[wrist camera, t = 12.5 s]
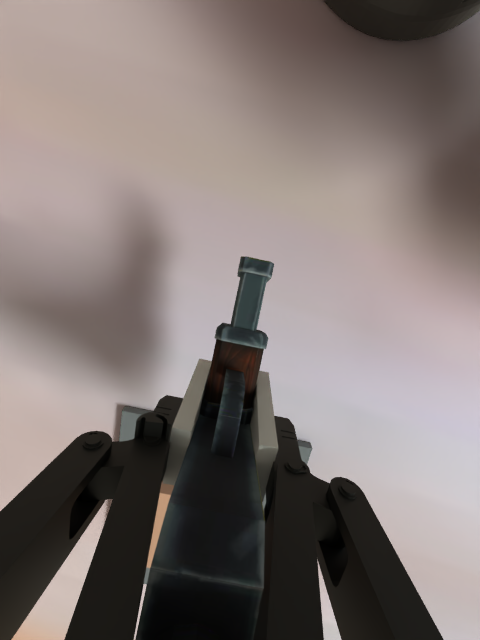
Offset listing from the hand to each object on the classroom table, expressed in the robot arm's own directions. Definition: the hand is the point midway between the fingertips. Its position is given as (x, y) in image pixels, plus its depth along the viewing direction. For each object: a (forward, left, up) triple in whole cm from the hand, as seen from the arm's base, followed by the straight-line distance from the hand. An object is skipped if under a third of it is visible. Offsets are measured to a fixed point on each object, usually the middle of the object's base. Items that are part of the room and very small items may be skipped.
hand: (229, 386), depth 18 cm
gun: (0, 0, -2) cm, 2 cm away
